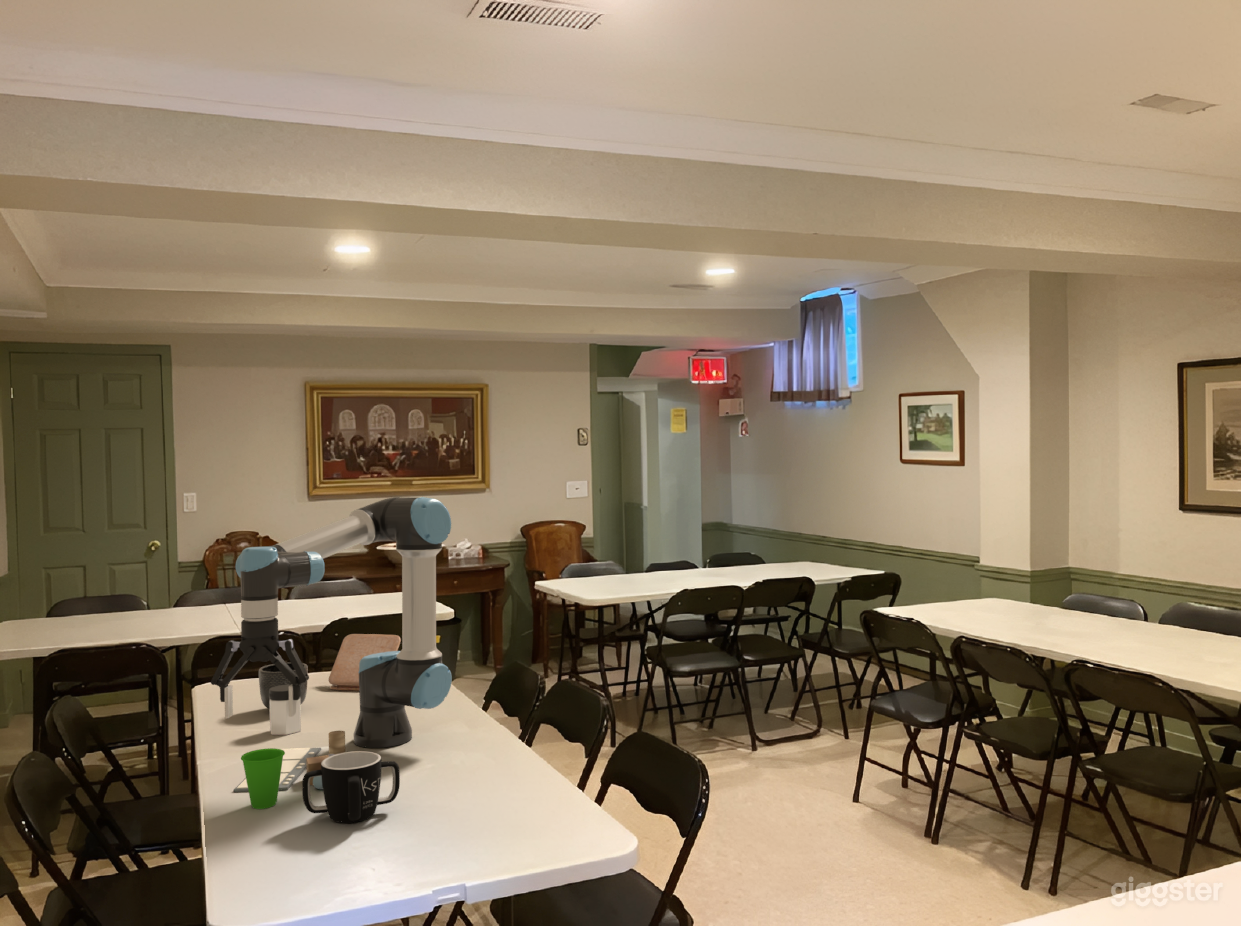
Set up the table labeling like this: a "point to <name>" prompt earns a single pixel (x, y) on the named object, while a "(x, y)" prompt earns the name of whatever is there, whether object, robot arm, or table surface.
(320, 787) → the dusty blue ball
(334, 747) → the beech cylinder
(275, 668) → the planter
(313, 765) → the walnut block
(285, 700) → the jar
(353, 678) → the case
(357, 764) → the mug
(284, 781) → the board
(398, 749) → the table surface
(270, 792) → the cup
